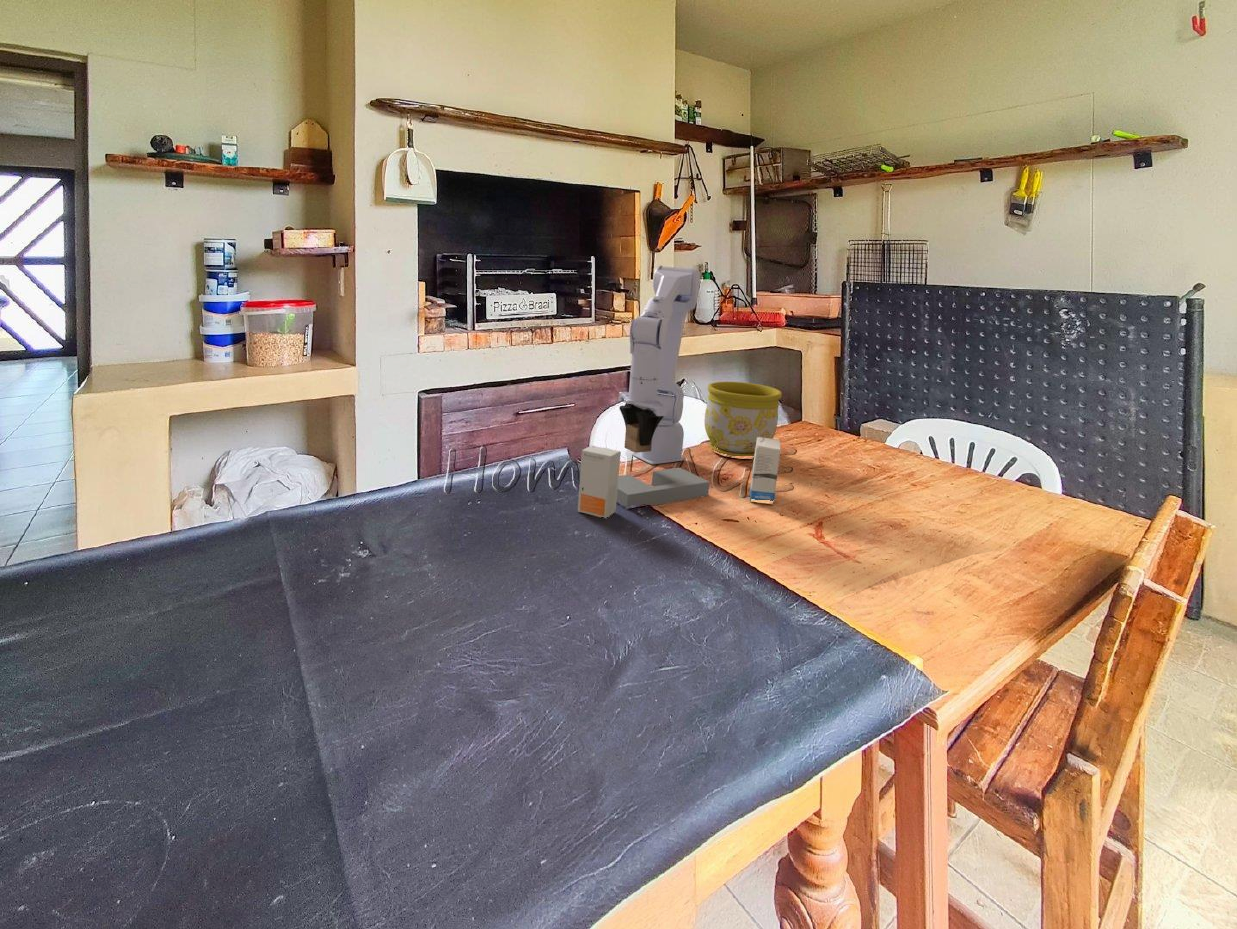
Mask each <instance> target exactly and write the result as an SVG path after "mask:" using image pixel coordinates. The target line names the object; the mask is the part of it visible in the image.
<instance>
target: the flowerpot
mask: <svg viewBox="0 0 1237 929" xmlns="http://www.w3.org/2000/svg"><path fill="white" fill-rule="evenodd" d="M707 391H708V392H709V393H708V395H707V398H708V399H707V404H706V407H705V413H704V429H705V432H706V435H707V437H708V440H710V442H709V443H708V447H709V448H710V449H711V448H712V449H711V451H712V450H715V451H717V452H719V453H723V454H727V455H733V456H754V454H755V447H756V440H757V437H762V438H769V439H774V437H775V434H776V432H777V427H778V421H779V406H780V403H779V400H780V399H781V398H782V397H783V392H782V391H781V390H779V389H777V388H774V387H771V386H768V385H763V384H758V383H751V382H744V381H743V382H742V381H715V382H711V383H709V384H708V385H707ZM714 446H715V447H716V448H715V447H714ZM717 448H718V449H717Z"/></svg>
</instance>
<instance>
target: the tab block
mask: <svg viewBox="0 0 1237 929" xmlns="http://www.w3.org/2000/svg"><path fill="white" fill-rule="evenodd" d="M624 435H625V436H624V437H625V438H624V448H625V449H626V450H628V451H630V452H633V453H640V452H647V451H651V446H652V440H651V443H650V445H648V446H641V445H640V441H639V423H638V424H626V426H625V434H624Z"/></svg>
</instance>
